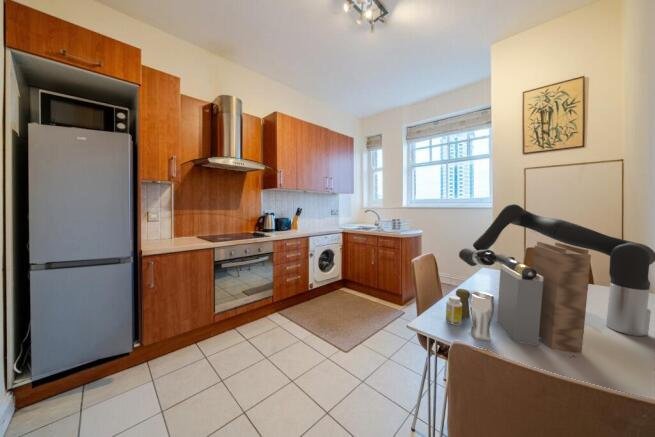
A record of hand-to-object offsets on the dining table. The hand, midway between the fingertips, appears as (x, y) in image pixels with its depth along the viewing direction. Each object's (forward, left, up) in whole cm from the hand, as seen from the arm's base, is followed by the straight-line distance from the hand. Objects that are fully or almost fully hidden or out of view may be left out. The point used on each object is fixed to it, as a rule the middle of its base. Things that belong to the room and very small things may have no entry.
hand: (502, 257), depth 105 cm
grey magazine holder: (+2, +19, -24) cm, 30 cm away
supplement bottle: (+22, +17, -24) cm, 37 cm away
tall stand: (-9, +20, -24) cm, 32 cm away
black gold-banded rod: (+2, +14, -2) cm, 14 cm away
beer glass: (+15, +25, -24) cm, 38 cm away
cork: (+17, +9, -24) cm, 31 cm away
